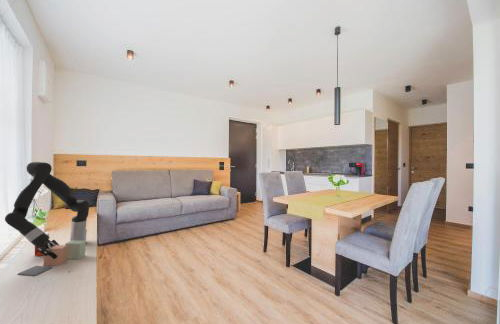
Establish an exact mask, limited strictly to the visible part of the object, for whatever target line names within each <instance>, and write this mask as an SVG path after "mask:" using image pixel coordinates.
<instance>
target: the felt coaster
mask: <svg viewBox="0 0 500 324" xmlns="http://www.w3.org/2000/svg"><path fill="white" fill-rule="evenodd" d="M52 268H53V266H43V265H35V266H32V267H30V268H28V269H25V270H22V271H20V272H18V273H17V275H20V276H31V277H36V276H38V275H41V274H43V273H44V272H47V271H49V270H51V269H52Z"/></svg>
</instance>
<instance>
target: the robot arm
mask: <svg viewBox="0 0 500 324" xmlns="http://www.w3.org/2000/svg"><path fill="white" fill-rule="evenodd" d="M52 169H53V167H52V165H51V164H50V163H48V162H46V161H45V162H44V161H43V162H42V161H32V162H29V163H28V164H27V165H26V172H27V173H28V174H29V175H30V176H31V177H33V178H32V180H31V181H30V183H28V185H26V186H25V187H24V188H23V189H22V190H21V191H20V193H19V194H18V195H17V198H16V199H15V201H14V203H13V207H14V208H13V210H12V212H9V213H8V214H6V215H5V217H4V222H5V223H6V224H8V226H11V227H12V228H13V229H15V230H16V231H18V232H19V233H20V234H21V235H22V236H23V237H25V239H26V240H27V241H28V242H30V243H31V244H32V245H33V246H34V247H35V246H36V247H38V246H39V247H40V248H39V249H38V250H37V251H39V252H40V253H42V254H43V255H42V256H44V255H45V256H47V255H48V256H51V257H52V258H53V259H55V258H57V255H56V254H55V253H52V251H51V250H50V249H51V247H53V246H56V245H60V244H59V243H58V242H57V241H56V239H52V240H50V235H49V236H48V235H47V234H45V233H44V232H45V231H44V230H42V229H40V228H39V227H38V226H37V225H35V224H34V223H33V222H31V221H29V220H28V219H27V218H26V217H27V215H28V211H29V208H30V206H31V204H32V203H33V201H34V198H35V196H36V194H37V193H38V191H39V189H41V187H42V185H44V186H45V187H46V188H47V189H48V190H49V191H50V192H51V193H52V194H54V195H55V196H56V197H57V198H59V199H60V200H61V201H62V202H63V203H65V205H66V206H67V207H68V208H69V209H70V210H71V211H72V212H74V213H75V212H76V216H73V217H72V218H71V227H70V237H69V239H70V240H69V242H70V241H86V242H87V231H88V229H87V221H88V220H87V219H88V217H89V211H90V210H89V209H90V202H89V201H88V200H85V199H84V200H83V199H77V198H76V197H75V196H74V194H72V193H73V192H72V189H71V187H70V186H69V185H68V184H67V183H66V182H64V181H63V180H62V179H60V178H58V177H56V176H54V175H52V174H51V172H52ZM48 248H49V249H48ZM46 249H48V250H46ZM42 250H43V251H42ZM49 251H50V252H49ZM44 252H45V253H44Z"/></svg>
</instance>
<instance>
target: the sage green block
mask: <svg viewBox="0 0 500 324" xmlns="http://www.w3.org/2000/svg"><path fill="white" fill-rule="evenodd" d="M86 244H87V240H86V241H70V240H69V241H68V242H66V243H65V244H64V245H67V257H66V260H80V259H82V258H83V257H85V256H86Z"/></svg>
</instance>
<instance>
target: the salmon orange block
mask: <svg viewBox="0 0 500 324" xmlns="http://www.w3.org/2000/svg"><path fill="white" fill-rule="evenodd" d="M48 249H49V248H48ZM48 249H46V250H48ZM50 250H51V251H52V253H55V254H56V255H57V258H55V259H53V258H52V257H51V256H48V255H47V256H45V255H43V264H42V266H47V265H48V266H61V265H63V264H64V263H65V262H67V259H66V257H67V245H65V244H59V245H56V246H53V247H51V249H50ZM49 252H50V251H49ZM44 253H45V252H44ZM48 266H47V267H48Z"/></svg>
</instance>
